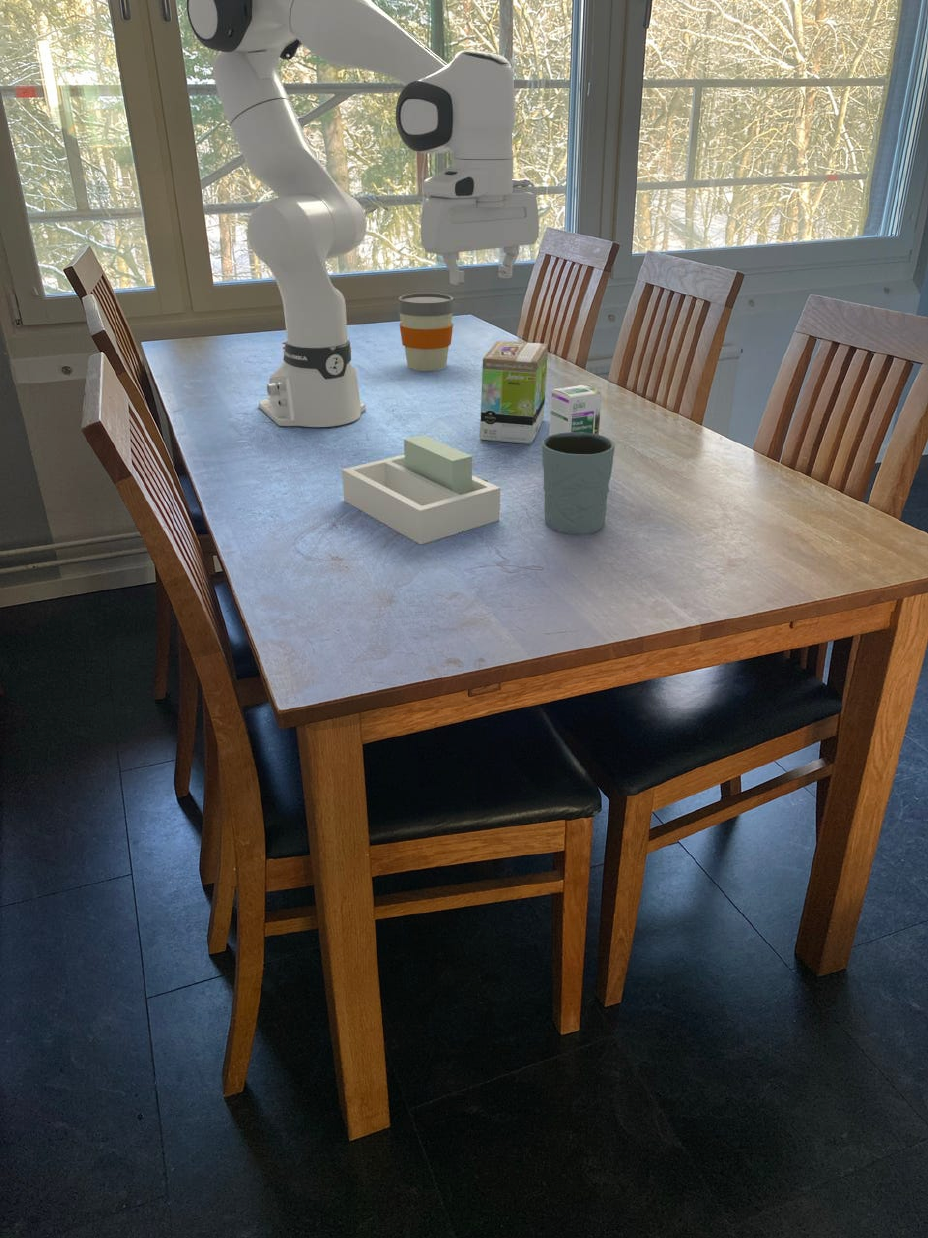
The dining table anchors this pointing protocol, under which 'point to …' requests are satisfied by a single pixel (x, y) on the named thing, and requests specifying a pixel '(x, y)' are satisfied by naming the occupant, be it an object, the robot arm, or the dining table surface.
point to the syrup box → (575, 410)
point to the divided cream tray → (418, 500)
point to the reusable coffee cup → (426, 329)
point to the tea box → (513, 391)
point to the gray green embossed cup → (576, 481)
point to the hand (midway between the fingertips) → (481, 280)
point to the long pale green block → (439, 463)
